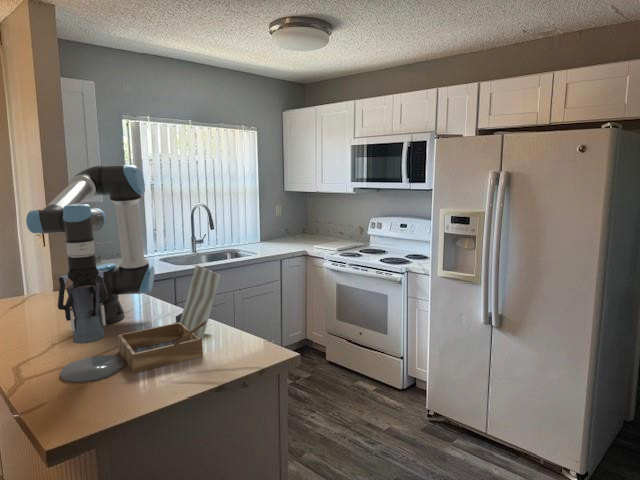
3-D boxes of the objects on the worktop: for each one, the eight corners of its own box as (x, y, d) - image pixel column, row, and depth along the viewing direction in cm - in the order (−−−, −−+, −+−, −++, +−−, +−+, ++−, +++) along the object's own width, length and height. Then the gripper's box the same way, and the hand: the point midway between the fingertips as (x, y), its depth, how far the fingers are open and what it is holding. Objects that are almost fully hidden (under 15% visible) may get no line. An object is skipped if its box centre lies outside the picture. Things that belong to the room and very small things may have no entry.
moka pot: (94, 330, 153) (88, 271, 150) (117, 340, 144) (112, 278, 141) (64, 339, 146) (57, 277, 143) (86, 350, 137) (79, 284, 134)
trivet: (57, 367, 149) (57, 364, 149) (117, 353, 159) (117, 351, 159) (64, 388, 134) (63, 384, 134) (129, 371, 144) (129, 368, 144)
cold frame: (119, 351, 161) (112, 276, 157) (201, 332, 178) (197, 264, 174) (134, 373, 143) (127, 289, 139) (224, 350, 160) (220, 274, 156)
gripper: (42, 261, 132) (51, 337, 135) (120, 252, 144) (126, 323, 147) (40, 257, 138) (49, 330, 141) (115, 249, 150) (121, 317, 153)
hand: (88, 327), depth 144 cm, fingers closed on moka pot, 8 cm apart
